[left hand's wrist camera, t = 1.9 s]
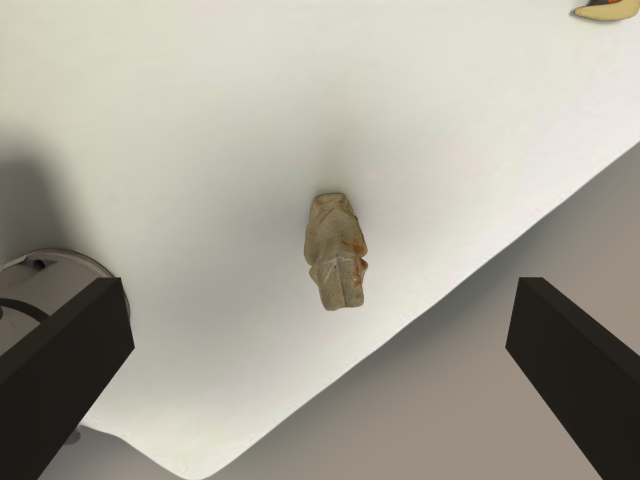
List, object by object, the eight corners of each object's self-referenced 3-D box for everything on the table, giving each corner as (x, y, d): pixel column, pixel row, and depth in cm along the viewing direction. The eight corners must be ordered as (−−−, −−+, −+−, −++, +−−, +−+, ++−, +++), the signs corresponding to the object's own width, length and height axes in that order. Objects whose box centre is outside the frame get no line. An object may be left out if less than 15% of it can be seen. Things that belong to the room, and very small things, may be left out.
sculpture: (310, 250, 45) (305, 320, 31) (303, 190, 43) (295, 236, 29) (359, 246, 45) (377, 314, 31) (356, 185, 42) (374, 229, 28)
